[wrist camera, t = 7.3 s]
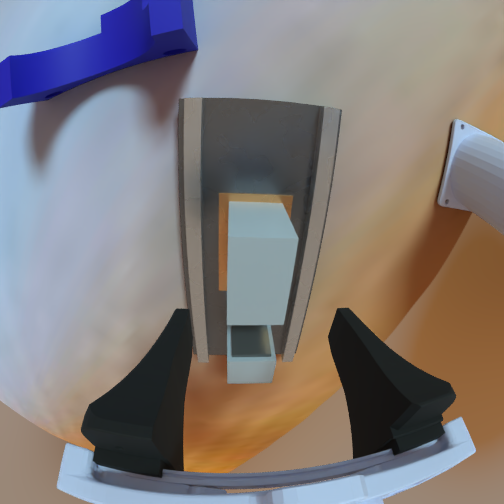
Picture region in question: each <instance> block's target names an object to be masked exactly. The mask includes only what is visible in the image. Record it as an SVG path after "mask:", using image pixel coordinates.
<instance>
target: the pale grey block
mask: <svg viewBox="0 0 504 504" xmlns="http://www.w3.org/2000/svg"><path fill="white" fill-rule="evenodd" d="M298 239H299V238H298V236H297V234H296V232H295V229H294V227H293V225H292V223H291V221H290V218H289V216H288V214H287V212H286V210H285V208H284V205H283V203H266V202H236V201H229V216H228V259H227V325H284V320H285V315H286V310H287V304H288V299H289V293H290V288H291V282H292V276H293V270H294V264H295V258H296V252H297V246H298Z"/></svg>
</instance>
